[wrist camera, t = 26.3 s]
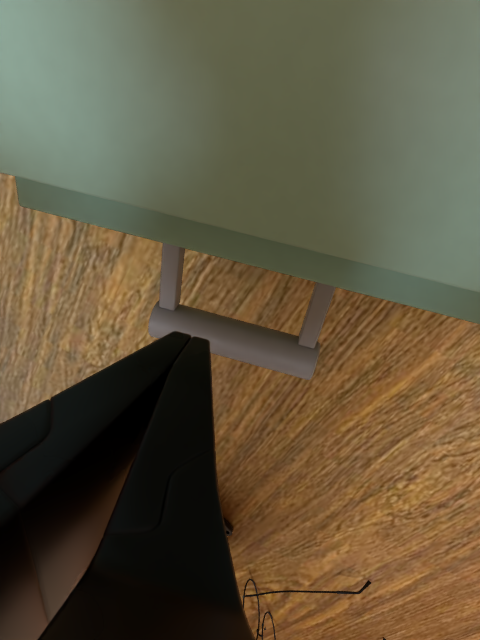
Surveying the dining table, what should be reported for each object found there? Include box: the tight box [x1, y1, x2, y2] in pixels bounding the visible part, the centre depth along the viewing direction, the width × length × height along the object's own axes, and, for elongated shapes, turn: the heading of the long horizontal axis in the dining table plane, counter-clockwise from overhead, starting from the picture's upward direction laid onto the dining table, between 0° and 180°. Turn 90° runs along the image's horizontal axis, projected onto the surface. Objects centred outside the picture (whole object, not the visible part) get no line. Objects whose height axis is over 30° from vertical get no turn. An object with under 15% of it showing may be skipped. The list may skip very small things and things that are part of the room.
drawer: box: [15, 176, 480, 380], centre depth 12 cm, size 18×12×9 cm
